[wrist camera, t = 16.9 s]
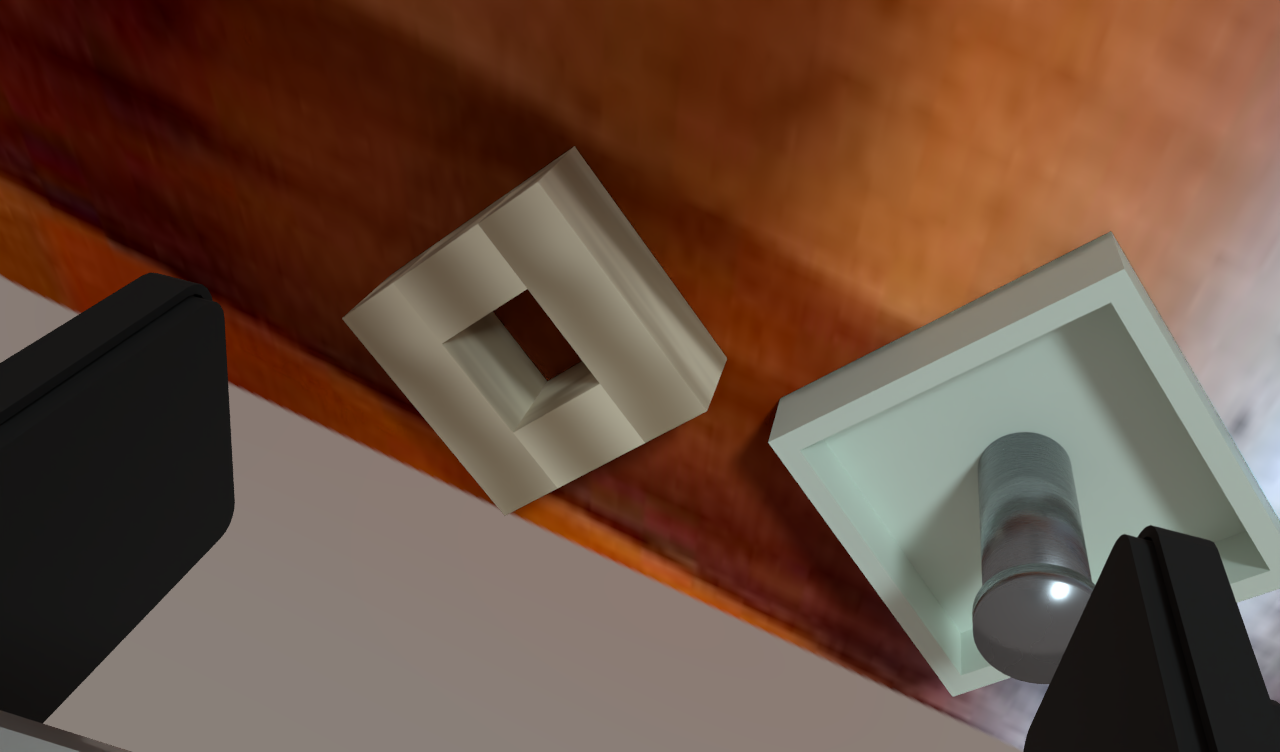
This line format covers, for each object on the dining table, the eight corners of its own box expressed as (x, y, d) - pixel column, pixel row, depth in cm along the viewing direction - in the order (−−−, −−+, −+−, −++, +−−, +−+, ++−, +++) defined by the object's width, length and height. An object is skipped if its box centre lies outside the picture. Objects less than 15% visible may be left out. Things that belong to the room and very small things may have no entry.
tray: (1111, 231, 44) (1124, 268, 41) (1281, 523, 49) (1306, 579, 45) (780, 398, 52) (768, 442, 48) (952, 640, 56) (952, 696, 52)
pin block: (574, 146, 48) (538, 181, 44) (727, 358, 51) (707, 410, 47) (390, 275, 54) (341, 318, 50) (538, 460, 57) (504, 515, 53)
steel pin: (1049, 406, 48) (1073, 561, 38) (1101, 489, 49) (1137, 659, 39) (948, 451, 50) (948, 608, 40) (1001, 529, 51) (1012, 699, 42)
